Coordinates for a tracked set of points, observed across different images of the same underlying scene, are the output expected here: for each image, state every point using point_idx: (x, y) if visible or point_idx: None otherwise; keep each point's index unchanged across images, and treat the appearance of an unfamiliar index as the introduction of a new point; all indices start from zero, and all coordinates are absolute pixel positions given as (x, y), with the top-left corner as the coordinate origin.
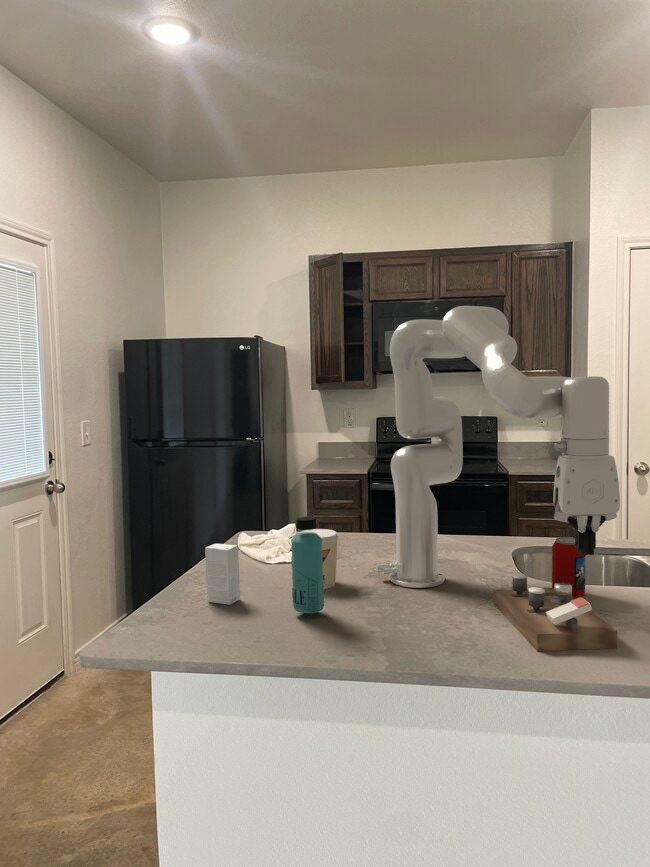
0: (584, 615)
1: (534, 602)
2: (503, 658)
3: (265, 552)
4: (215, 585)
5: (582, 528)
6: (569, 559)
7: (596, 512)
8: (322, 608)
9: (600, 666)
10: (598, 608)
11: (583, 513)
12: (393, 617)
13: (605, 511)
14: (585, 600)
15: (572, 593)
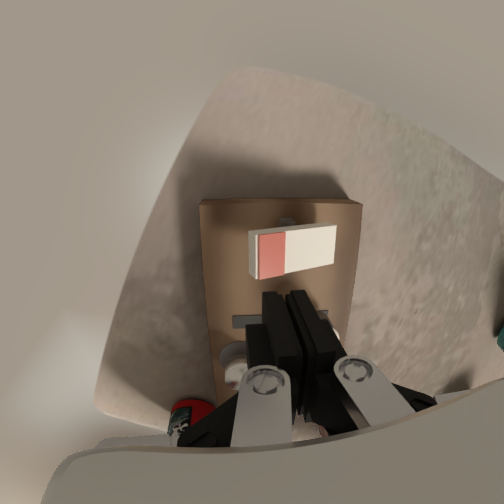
0: (229, 291)
1: (327, 318)
2: (404, 182)
3: None
4: None
5: (352, 375)
6: None
7: (332, 454)
8: (502, 329)
9: (270, 125)
10: (167, 364)
11: (451, 410)
12: (455, 330)
13: (215, 473)
14: (256, 258)
15: (196, 402)
